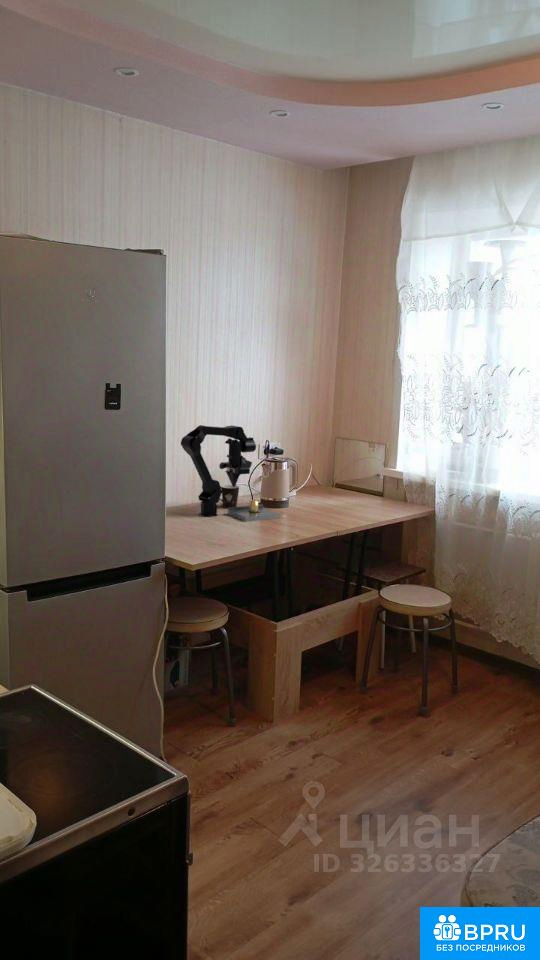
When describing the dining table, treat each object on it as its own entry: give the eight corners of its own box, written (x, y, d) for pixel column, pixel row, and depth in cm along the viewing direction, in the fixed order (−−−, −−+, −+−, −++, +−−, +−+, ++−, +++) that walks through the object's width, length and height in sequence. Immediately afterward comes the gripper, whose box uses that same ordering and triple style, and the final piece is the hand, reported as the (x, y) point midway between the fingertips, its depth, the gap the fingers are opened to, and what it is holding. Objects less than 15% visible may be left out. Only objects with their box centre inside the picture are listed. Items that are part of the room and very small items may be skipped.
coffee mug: (242, 507, 376) (242, 486, 374) (231, 509, 368) (232, 489, 367) (222, 503, 382) (223, 483, 380) (212, 506, 374) (212, 485, 373)
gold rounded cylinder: (252, 517, 354) (252, 502, 352) (247, 515, 357) (248, 500, 356) (259, 516, 356) (260, 501, 355) (255, 515, 359) (255, 500, 358)
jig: (245, 521, 345) (245, 514, 344) (227, 514, 358) (228, 507, 358) (279, 518, 355) (279, 511, 354) (261, 511, 368) (261, 504, 367)
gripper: (260, 455, 356) (259, 488, 359) (239, 449, 372) (238, 482, 374) (239, 456, 350) (238, 490, 353) (219, 450, 366) (218, 483, 368)
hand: (233, 486), depth 362 cm, fingers closed
